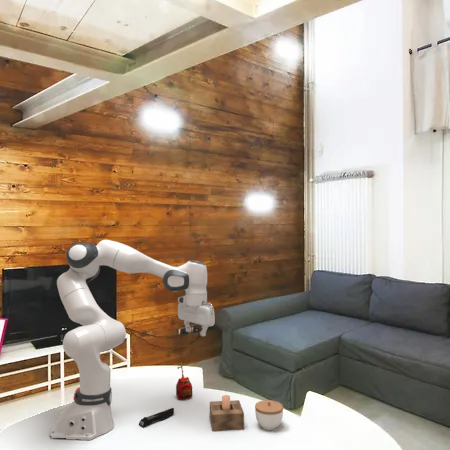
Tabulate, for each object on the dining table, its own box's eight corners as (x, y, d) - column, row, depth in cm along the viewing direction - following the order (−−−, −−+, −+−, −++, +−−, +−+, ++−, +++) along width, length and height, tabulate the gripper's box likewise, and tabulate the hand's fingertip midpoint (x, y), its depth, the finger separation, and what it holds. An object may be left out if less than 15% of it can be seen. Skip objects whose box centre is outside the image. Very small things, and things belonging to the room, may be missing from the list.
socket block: (212, 431, 145) (212, 414, 145) (209, 416, 157) (209, 401, 157) (243, 429, 147) (244, 413, 147) (239, 415, 158) (239, 400, 159)
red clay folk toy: (179, 402, 171) (180, 367, 172) (172, 396, 177) (173, 363, 178) (195, 398, 175) (195, 364, 176) (187, 393, 181) (187, 360, 182)
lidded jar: (251, 421, 153) (251, 397, 153) (276, 418, 156) (276, 394, 156) (260, 434, 143) (260, 408, 143) (287, 431, 146) (287, 405, 146)
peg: (221, 424, 150) (222, 398, 151) (221, 421, 153) (221, 395, 154) (230, 424, 150) (230, 398, 151) (229, 421, 153) (229, 395, 154)
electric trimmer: (176, 416, 158) (176, 408, 158) (143, 429, 147) (143, 420, 147) (170, 413, 161) (170, 406, 161) (138, 425, 150) (138, 417, 150)
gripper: (218, 302, 156) (218, 337, 155) (187, 296, 171) (186, 328, 170) (206, 304, 151) (206, 340, 151) (175, 297, 166) (174, 330, 166)
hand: (195, 333), depth 161 cm, fingers open, 8 cm apart
